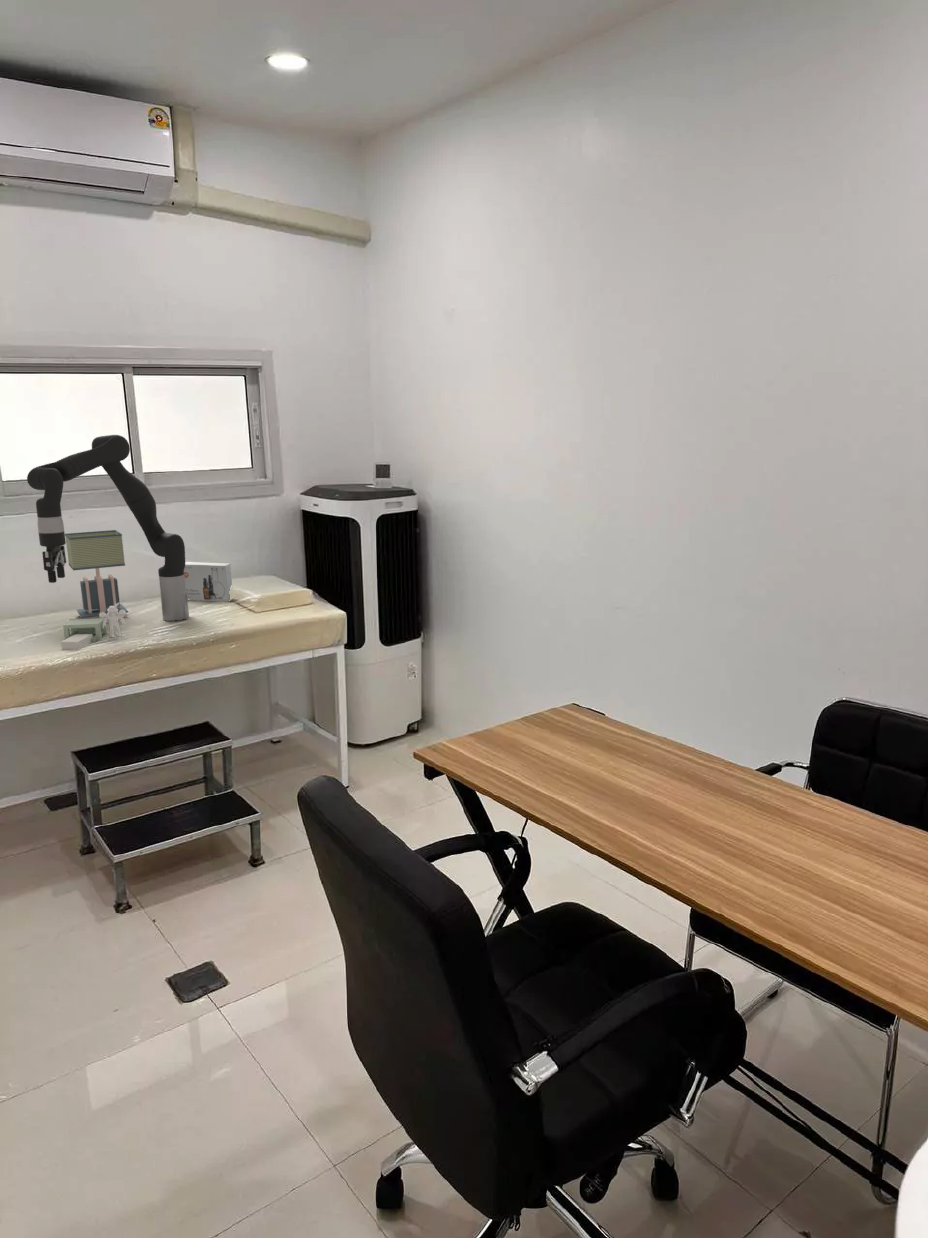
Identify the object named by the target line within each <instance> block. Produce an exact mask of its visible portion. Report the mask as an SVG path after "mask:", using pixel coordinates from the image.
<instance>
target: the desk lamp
mask: <svg viewBox="0 0 928 1238" xmlns="http://www.w3.org/2000/svg"><path fill="white" fill-rule="evenodd" d="M65 541H66V544H65V545H66V552H67V559H68V561H67V562H68V566H69V567H70V568H71V569H72V571H83V570H93V569H95V575H94V579H91V580H90V579H88V578H87V577H86V576H83V577H82V581H81V580H80V581H79V584H80V592H81V599H82V608H78V609H77V608H76V611H77V614H78V615H79V616H80V619H84V618H100V616H99V614H100V612H101V613H102V612H104V613H105V614H106V615H107V613H108V611H107V609H108V608H109V606H115V604H117V603H118V602H121V601H120V595H119V594H120V593H119V585H118V579H117V578H116V577H114V576H113V575H112V574H108V575H107V577H108V578H103V577H102V576H101V573H100V569H104V568H113V567H114V568H115V567H123V566H126V563H125V555H124V545H123V534H122V533H121V532H120V531H118V530H117V529H112V530H109V529H108V530H99V531H84V532H83V531H82V532H71V533H65ZM116 606H117V607H115V608H117V609H118V613H119V611H120V610H123V611H124V610H125V612H126V614H127V613H129V611H128V610H127V608H126V607H125V606H124V605H123V604H121V603H119V605H116ZM122 616H124V615H122ZM125 617H126V615H125V616H124V617H123V618H125ZM104 618H105V617H104Z"/></svg>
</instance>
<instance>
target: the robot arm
mask: <svg viewBox="0 0 928 1238" xmlns="http://www.w3.org/2000/svg"><path fill="white" fill-rule="evenodd" d="M130 451H131V448H130V444H129V441H128V440H127V439H126V438H125V437H124V436H122V435H120V434H109V435H100V436H97V437H94V438H93V440H92V441H91V449H88V450H87V449H86V450H84V451H80V452H76V453H73V454H70V455H68V456H65V457H63V458H61V459H58V460H57V461H54V462H50V463H49V462H48V463H45V464H43V465H42V464H41V465H38V466H36V467H33V468H32V469H30V470H29V472H28V474H27V476H26V482H27V484H28V485H29V487H31V488H32V489H34V490H38V491H44V495H43V497H41V498H38V499H36V502H35V509H36V515H37V532H38V540H39V541H38V542H39V546H41V547H45V549H46V550H45V551H42V552H41V553H42V560H43V561H42V563H43V570H44V571H46V572H47V579H48V583H50V584H54V583H57V579H64V578H65V577H66V573H65V566H66V564H67V558H66V557H67V556H66V550H65V549H66V548H65V545H66V537H65V534H66V533H65V526H64V525H65V524H64V520H63V516H62V510H61V509H62V507H61V506H62V505H61V502H62V498H63V497H62V495H63V489H64V482H69V481H72V480H73V479H76V478H78V477H81V476H82V475H84V474H86V473H88V472H91V471H93V470H95V469H97V468H100V467H101V468H102V469H103V470H104V471H105V472H106V474H107V475H108V477H109V478H110V479H111V481H112V482H113V484H114V486H115V487H116V488H117V490H118V492H119V493H120V495H121V496H122V498H123V500H124V502H125V503H126V505H127V507H128V509H129V510H130V511H131V513H132V514H133V515H134V518H135V519H136V521H137V523H138V525H139V527H140V528H141V530H142V531H143V534H144V536H145V537H146V539H147V542H148V544H149V546H150V548H151V551H152V552H153V553H154V554H155V555H156V556H158V557H161V558H164V564H163V565H162V566H160V567H159V568H158V581H159V591H160V600H161V601H160V602H161V613H162V614H161V615H162V620H163V621H165V620H166V621H167V622H176V621H175V620H178V621H183V620H182V619H186V620H188V618H189V616H190V611H189V600H188V599H187V592H186V590H185V579H184V568H185V562H186V547H185V546H186V545H185V542H184V539H183V538H182V536H180V535H179V534H177V533H170V532H169V533H168V532H166V531H165V529H164V528H163V527H162V525H161V524H160V522H159V520H158V516H157V505H156V504H157V503H156V500H155V499H154V497H153V495H152V493H151V491H150V490H149V488H148V487H147V485H146V484H145V483H144V482H143V481H142V480H140V479H139V478H137V477H136V476H135V475H133V474H132V473H131V472H130V471H129V470H128V469H126V468H125V465H123V463H122V462H121V461H124V460H126V459H127V458H128V457H129V455H130Z"/></svg>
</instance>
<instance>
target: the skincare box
mask: <svg viewBox="0 0 928 1238" xmlns="http://www.w3.org/2000/svg"><path fill="white" fill-rule="evenodd" d="M231 569H232V568H231V563H228V562H225V563H223V562H202V561H201V562H197V561H185V568H184V579H185V590H186V592H187V599H190V600H189V601H200V600H201V601H203V602H205V601H206V602H222V603H223V602H225V603H228V602H230V601H229V600H230V594H229V591H230V587H231V585H232V586H233V580H232V571H231ZM201 601H200V602H201Z"/></svg>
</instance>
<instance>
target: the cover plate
mask: <svg viewBox="0 0 928 1238" xmlns="http://www.w3.org/2000/svg"><path fill="white" fill-rule="evenodd" d="M93 636H94V634H75V635H73V636H71V637H69V638H67V639H65V638H64V639H65V640H61V641H60V645H61V646H60V647H61V650H81V649H82V648H85V647H86V646H88V645H90V644H92V639H91V638H92V637H93ZM89 643H90V644H89Z"/></svg>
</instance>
